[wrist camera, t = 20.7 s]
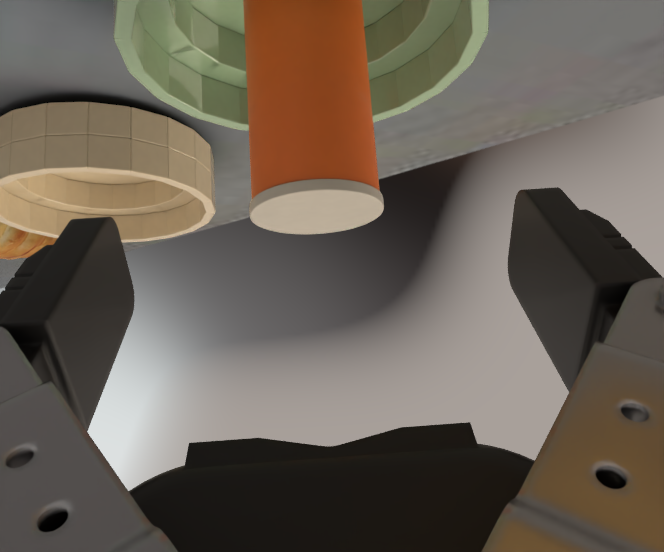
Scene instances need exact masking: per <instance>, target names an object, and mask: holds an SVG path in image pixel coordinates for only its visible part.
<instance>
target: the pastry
mask: <svg viewBox="0 0 664 552" xmlns="http://www.w3.org/2000/svg"><path fill="white" fill-rule="evenodd" d="M57 239H58V238H53V237H48V236H44V235H39V234H35V233H31V232H26V231H22V230H20V229H17V228H14V227H12V226H9V225H6V224H4V223H1V222H0V259H9V260H11V259H16V258H26V257H30V256H31V255H33V254H34V253H36V252H37V251H39V250H40V249H42V248H43V247H44V246H46V245H53V244H54V243H55V241H56V240H57Z"/></svg>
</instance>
